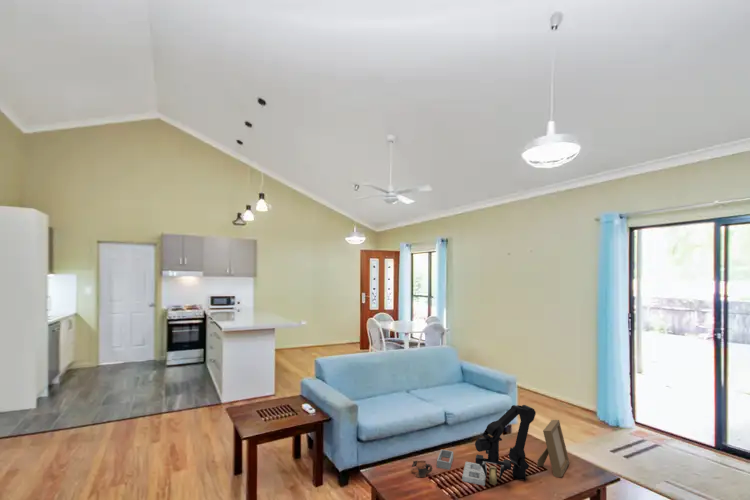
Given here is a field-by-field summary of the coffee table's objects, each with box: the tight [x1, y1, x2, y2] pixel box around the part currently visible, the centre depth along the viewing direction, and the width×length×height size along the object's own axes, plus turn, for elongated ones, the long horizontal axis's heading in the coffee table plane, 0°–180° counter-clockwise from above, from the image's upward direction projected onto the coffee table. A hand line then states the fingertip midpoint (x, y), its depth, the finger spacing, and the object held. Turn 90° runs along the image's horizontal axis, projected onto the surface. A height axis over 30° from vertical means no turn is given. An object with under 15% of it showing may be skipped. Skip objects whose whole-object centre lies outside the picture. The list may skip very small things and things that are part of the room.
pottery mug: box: [411, 460, 434, 478], centre depth 217 cm, size 12×10×8 cm
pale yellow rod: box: [488, 465, 498, 486], centre depth 210 cm, size 4×4×8 cm
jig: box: [461, 461, 488, 487], centre depth 217 cm, size 12×18×2 cm, turn 161°
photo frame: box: [536, 419, 570, 478], centre depth 230 cm, size 15×22×25 cm
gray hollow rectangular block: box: [436, 449, 454, 471], centre depth 230 cm, size 8×15×4 cm, turn 161°
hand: (493, 477), depth 210 cm, fingers open, 7 cm apart
